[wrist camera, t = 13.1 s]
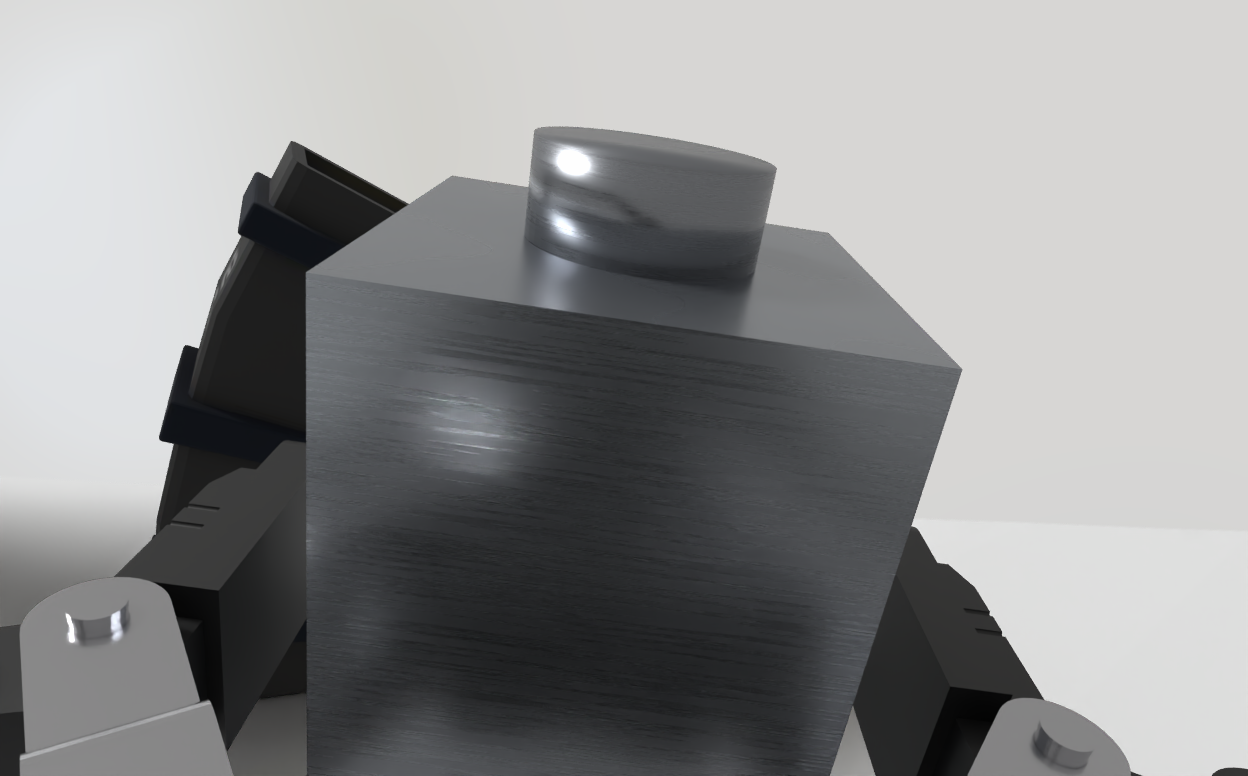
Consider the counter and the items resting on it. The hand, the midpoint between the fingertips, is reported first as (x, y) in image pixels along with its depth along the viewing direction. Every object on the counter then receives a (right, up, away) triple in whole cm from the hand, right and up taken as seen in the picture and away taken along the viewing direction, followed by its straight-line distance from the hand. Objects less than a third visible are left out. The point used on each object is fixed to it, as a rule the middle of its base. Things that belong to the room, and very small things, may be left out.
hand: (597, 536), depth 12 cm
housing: (-1, -8, +1) cm, 8 cm away
